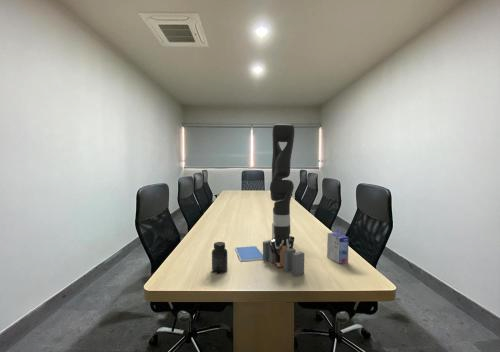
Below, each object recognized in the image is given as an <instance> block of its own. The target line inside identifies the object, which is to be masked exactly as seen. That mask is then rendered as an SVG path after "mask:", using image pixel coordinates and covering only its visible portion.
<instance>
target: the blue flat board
mask: <svg viewBox="0 0 500 352" xmlns="http://www.w3.org/2000/svg"><path fill="white" fill-rule="evenodd" d="M234 250H235V253H236V254H237V257H238V259H239V261H240V262H242V263H243V262H255V261H264V260H263V252H261V250H260V249H259V248H258V246H256V245H254V246H240V247H239V246H238V247H235V248H234Z"/></svg>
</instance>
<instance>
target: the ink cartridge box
mask: <svg viewBox="0 0 500 352" xmlns="http://www.w3.org/2000/svg"><path fill="white" fill-rule="evenodd" d="M343 231H344V230H342V229H339V228H338V229H337V230H336V232H327V239H326V240H327V241H326V242H327V246H326V247H327V249H326V257H328V259H331V260H332V261H334V262H336V263H337V264H348V263H349V237H348V236H346V235H343Z"/></svg>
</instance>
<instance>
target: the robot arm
mask: <svg viewBox="0 0 500 352" xmlns="http://www.w3.org/2000/svg"><path fill="white" fill-rule="evenodd" d="M294 139H295V127H294V125H293V124H290V123H275V124H274V125H273V127H272V157H271V158H272V160H271V182H270V185H269V191H270V199H271V200H272V202H274V203H273V208H272V218H273V219H272V223H271V236H272V237H271V238H272V239H271V240H272V241H269V245H270V249H271V253H273V254H275V261H276V262H277V263H280V255H279V254H280V251H281V250H282V246H286V247H287V250H288V249H291V248H293V249H294V245H295V243H294V242H295V237H294V236H292V235H291V210H290V209H291V201H292V195H293V192H294V187H295V186H294V185H295V184H294V182H293V181H292V180H291V179H286V178H289V176H291V175H290V174H291V159H292V152H293V148H294V142H295V141H294ZM280 143H286V145H285V146H284V148H283V149H282V148H281V146H280V145H281V144H280ZM277 246H279V247H277ZM277 249H278V252H277ZM277 263H276V264H277Z"/></svg>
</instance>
